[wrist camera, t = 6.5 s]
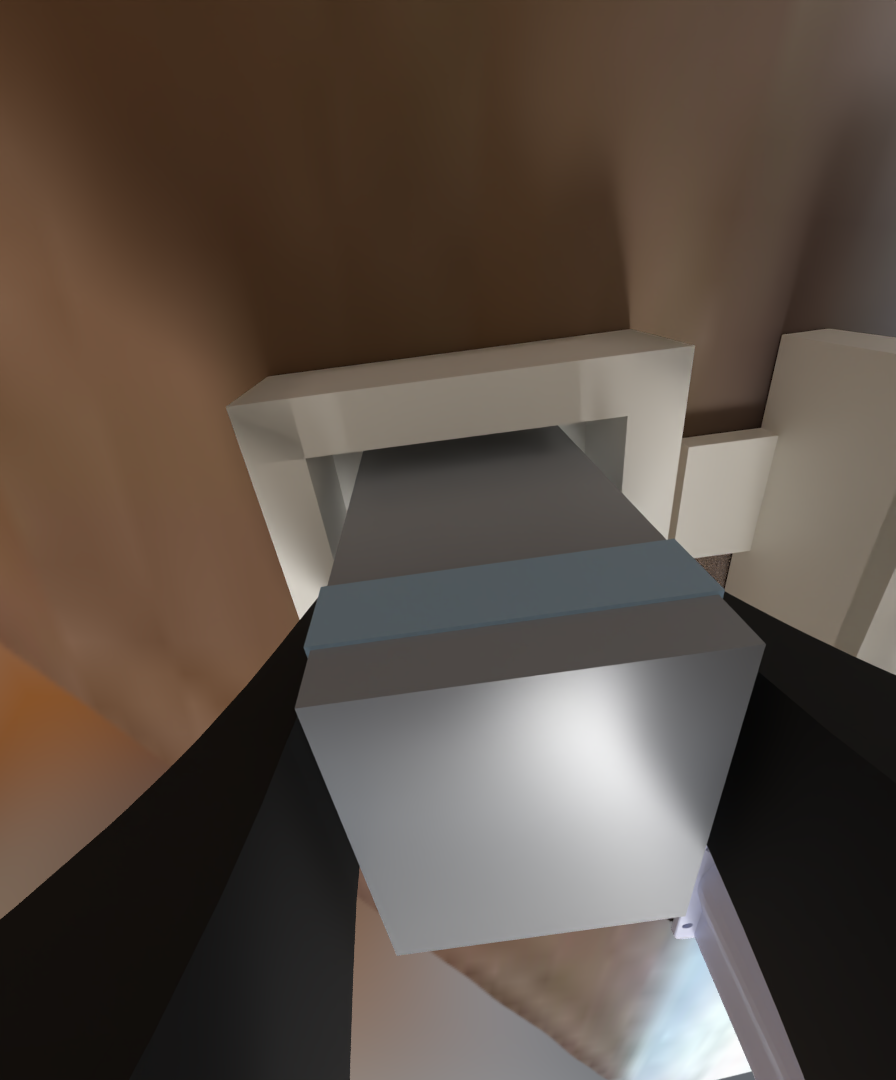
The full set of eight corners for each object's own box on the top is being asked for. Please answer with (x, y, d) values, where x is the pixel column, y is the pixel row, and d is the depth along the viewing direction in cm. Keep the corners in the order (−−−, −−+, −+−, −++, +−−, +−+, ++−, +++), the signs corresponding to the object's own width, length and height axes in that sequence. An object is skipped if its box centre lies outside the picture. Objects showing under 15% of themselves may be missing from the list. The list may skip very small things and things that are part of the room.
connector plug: (555, 703, 14) (658, 1015, 8) (422, 721, 14) (431, 1046, 8) (553, 415, 10) (772, 639, 4) (362, 441, 10) (286, 704, 4)
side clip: (809, 588, 13) (948, 698, 10) (652, 608, 13) (737, 726, 10) (899, 319, 10) (1163, 344, 6) (687, 347, 10) (838, 386, 6)
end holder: (608, 627, 14) (645, 695, 11) (351, 662, 14) (340, 736, 11) (631, 328, 10) (695, 345, 7) (267, 376, 10) (226, 407, 7)
